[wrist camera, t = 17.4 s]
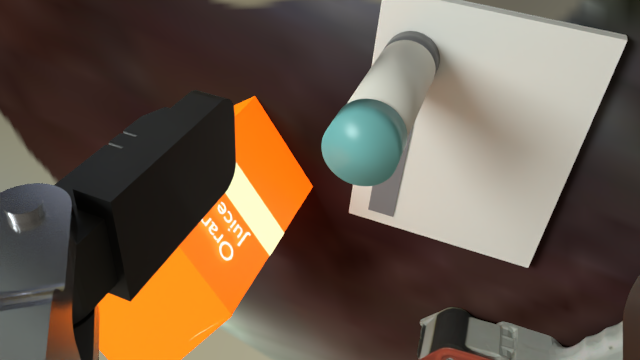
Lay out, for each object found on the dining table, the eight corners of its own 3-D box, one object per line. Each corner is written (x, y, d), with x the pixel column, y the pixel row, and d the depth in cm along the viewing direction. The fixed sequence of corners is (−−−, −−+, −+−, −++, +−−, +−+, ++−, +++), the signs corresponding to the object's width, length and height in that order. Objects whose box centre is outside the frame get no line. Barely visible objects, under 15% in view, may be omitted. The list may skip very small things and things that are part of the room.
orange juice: (244, 209, 52) (101, 399, 36) (186, 126, 49) (4, 295, 33) (315, 186, 47) (186, 391, 32) (256, 94, 44) (83, 272, 29)
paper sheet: (626, 35, 33) (627, 41, 32) (528, 260, 44) (528, 268, 43) (387, -16, 36) (383, -12, 36) (351, 206, 47) (348, 213, 47)
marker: (447, 37, 36) (405, 129, 27) (434, 92, 38) (390, 195, 29) (387, 23, 37) (326, 108, 27) (377, 78, 39) (317, 174, 30)
